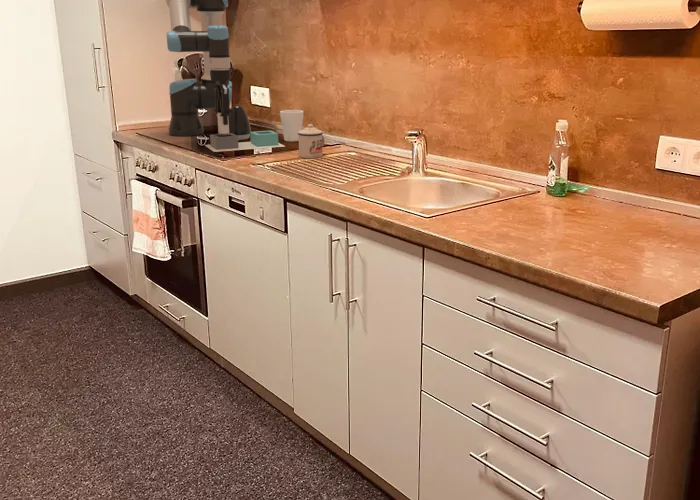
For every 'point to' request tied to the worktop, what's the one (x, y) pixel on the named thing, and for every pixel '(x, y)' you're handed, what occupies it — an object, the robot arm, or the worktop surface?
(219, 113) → the lock pin
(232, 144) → the mount board
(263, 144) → the socket
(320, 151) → the teacup with lid
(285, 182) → the worktop surface
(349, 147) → the worktop surface
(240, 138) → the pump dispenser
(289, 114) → the foam cup
